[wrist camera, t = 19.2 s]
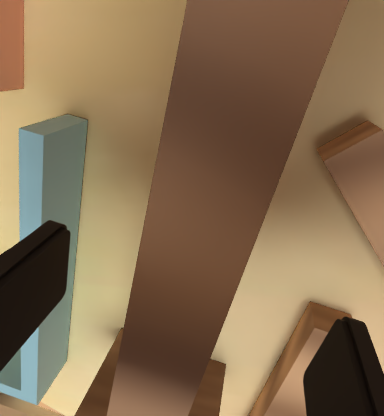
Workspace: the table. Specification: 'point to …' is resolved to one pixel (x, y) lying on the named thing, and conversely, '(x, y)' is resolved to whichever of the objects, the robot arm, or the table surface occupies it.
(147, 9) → the table surface
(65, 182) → the cubby
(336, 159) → the plain stick
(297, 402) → the plain stick
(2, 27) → the clay-red block
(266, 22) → the crook rake
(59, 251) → the robot arm
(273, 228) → the table surface
